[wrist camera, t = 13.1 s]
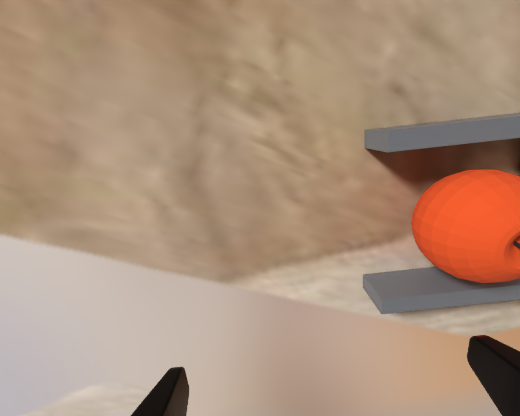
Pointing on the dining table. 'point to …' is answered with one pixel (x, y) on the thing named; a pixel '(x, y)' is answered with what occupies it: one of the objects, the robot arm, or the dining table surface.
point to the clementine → (471, 225)
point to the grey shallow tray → (434, 279)
